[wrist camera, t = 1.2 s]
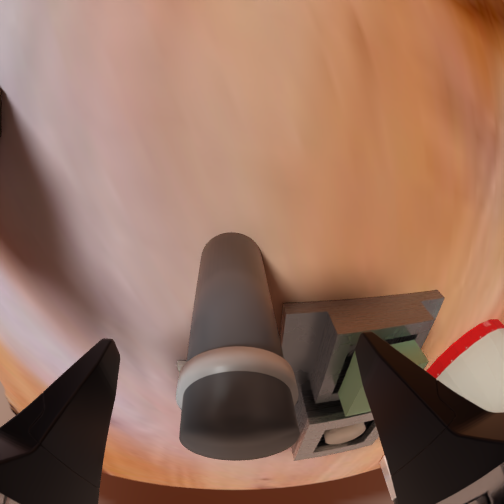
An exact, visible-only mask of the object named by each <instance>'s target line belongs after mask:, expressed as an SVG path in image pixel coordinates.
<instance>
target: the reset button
mask: <svg viewBox="0 0 504 504" xmlns="http://www.w3.org/2000/svg"><path fill="white" fill-rule="evenodd" d="M365 430H366V427H365V424H364V422H363V423H359V424H354V425H350V426H345V427H340V428H335V429H330V430H325V431H324V433H323V434H324V438H325V442H326V443H327V444H340V443H344V442H348V441H350V440H353V439H355V438H356V437H358V436H360V435H361V434H362V433H363V432H364V431H365Z"/></svg>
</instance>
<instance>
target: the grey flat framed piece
mask: <svg viewBox="0 0 504 504" xmlns="http://www.w3.org/2000/svg"><path fill="white" fill-rule="evenodd" d="M443 300H444V297H443V295H442V294H441V293H440V292H439V291H438V290H435V291H427V292H419V293H410V294H401V295H391V296H381V297H371V298H359V299H347V300H334V301H319V302H303V303H284V304H283V309H282V319H281V328H280V342H281V347H282V351H283V356H284V359H285V360H286V361H287V362H288V363H289V364H290V366H291V367H292V369H293V372H294V375H295V380H296V384H297V388H298V394H299V395H298V400H297V403H296V404H295V406H294V407H295V412H296V417H297V422H298V426H299V431H300V436H299V438H298V440H297V441H296V443H295V444H293V445H292V446H291V447H292V453H293V458H294V461H295V460H302V459H309V458H315V457H321V456H326V455H331V454H336V453H341V452H345V451H349V450H353V449H357V448H361V447H365V446H369V445H372V444H373V443H374V442H375V440H376V439H377V438H378V437H379V434H378V431H377V428H376V425H375V422H374V418H373V415H372V412H371V411H369V412H365V413H361V414H356V415H352V416H347V417H345V414H344V411H343V408H342V405H341V402H340V399H339V396H338V391H339V389H340V387H341V384H342V382H343V380H344V377H345V375H346V372H347V370H348V367H349V364H350V362H351V359H352V357H353V354H354V351H355V348H356V345H357V342H358V339H359V336H360V334H361V333H362V332H369V331H371V332H373V333H374V334H376V335H377V336H379V337H380V338H381V339H383V340H384V341H385V342H387V343H388V344H390V345H391V344H396V343H401V342H406V341H411V340H415V341H416V343H417V344H418V346H419V347H420V349H421V347H422V345H423V343H424V341H425V339H426V337H427V335H428V333H429V331H430V329H431V327H432V325H433V323H434V321H435V319H436V316H437V314H438V312H439V310H440V307H441V305H442V303H443ZM363 422H364V424H365V427H366V430H365V431H364V432H363V433H362V434H361V435H360V436H358V437H356V438H355V439H353V440H350V441H348V442H344V443H340V444H327V443H326V442H325V438H324V434H323V433H324V431H325V430H330V429H335V428H340V427H345V426H350V425H354V424H359V423H363Z"/></svg>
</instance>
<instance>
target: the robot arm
mask: <svg viewBox="0 0 504 504" xmlns="http://www.w3.org/2000/svg"><path fill="white" fill-rule="evenodd" d="M355 354H356V358H357V363H358V367H359V371H360V376H361V380H362V385H363V388H364V391H365V394H366V397H367V400H368V403H369V406H370V409H371V412H372V415H373V418H374V422H375V425H376V428H377V431H378V434H379V437H380V441H381V444H382V447H383V451H384V454H385V457H386V461H387V464H388V468H389V471H390V475H391V479H392V483H393V487H394V490H395V494H396V498H397V502H398V504H504V412H501V413H495V412H489V411H487V410H484V409H482V408H481V407H479V406H477V405H476V404H474V403H472V402H471V401H469V400H467V399H466V398H464V397H462V396H461V395H459V394H457V393H456V392H454V391H453V390H451V389H450V388H448V387H447V386H446V385H444V384H443V383H441V382H440V381H439V380H437V379H436V378H435V377H433V376H432V375H430V374H429V373H428V372H426V371H425V370H424V369H422V368H421V367H420V366H418V365H417V364H415V363H414V362H413V361H411V360H410V359H409V358H407V357H406V356H405V355H403V354H402V353H400V352H399V351H398V350H396V349H395V348H394V347H392V346H391V345H390V344H388V343H387V342H385V341H384V340H383V339H381V338H380V337H379V336H377V335H376V334H374V333H373V332H371V331H369V332H362V333H361V334H360V336H359V339H358V342H357V345H356V348H355ZM119 364H120V354H119V352H118V349H117V347H116V344H115V342H114V340H113V339H105V338H104V339H102V340H100V341H99V342H98V343H97V344H96V345H95V346H93V347H92V348H91V349H90V350H89V351H88V352H87V353H86V354H84V355H83V356H82V357H81V358H80V359H79V360H78V361H77V362H76V363H74V364H73V365H72V366H71V367H70V368H69V369H68V370H67V371H66V372H64V373H63V374H62V375H61V376H60V377H59V378H58V379H57V380H56V381H55V382H54V383H52V384H51V385H50V386H49V387H48V388H47V389H46V390H45V391H44V392H43V393H42V394H40V395H39V396H38V397H37V398H36V399H35V400H34V401H33V402H32V403H31V404H30V405H28V406H27V407H26V408H25V409H23V410H22V411H21V412H20V413H19V414H17V415H16V416H15V417H13V418H12V419H11V420H9V421H8V422H7V423H6V424H4V425H3V426H2V427H0V504H98V498H99V488H100V480H101V472H102V465H103V459H104V452H105V446H106V441H107V435H108V430H109V425H110V420H111V415H112V410H113V405H114V401H115V396H116V389H117V380H118V372H119Z"/></svg>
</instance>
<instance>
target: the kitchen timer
mask: <svg viewBox="0 0 504 504" xmlns="http://www.w3.org/2000/svg"><path fill="white" fill-rule="evenodd" d="M426 372H428V373H429V374H430V375H432V376H433V377H435V378H436V379H437V380H439V381H440V382H441V383H443V384H444V385H446V386H447V387H448V388H450V389H451V390H453V391H454V392H456V393H457V394H459V395H461V396H462V397H464V398H466V399H467V400H469V401H471V402H472V403H474V404H476V405H477V406H479V407H481V408H482V409H484V410H487V411H489V412H495V413H501V412H504V325H503V324H502V323H501V322H500V321H499V320H498V319H493V320H488V321H486V322H483V323H481V324H479V325H477V326H476V327H474V328H473V329H471V330H470V331H468V332H467V333H465V334H464V335H463V336H462V337H461V338H459V339H458V340H457V341H456V342H454V343H453V344H452V345H451V346H450V347H449V348H448V349H447V350H446V351H445V352H444V353H443V354H442V355H441V356H440V357H438V358H437V360H436V361H435V362H434V363H433V364H432V365H431V367H430V368H429V369H428V370H427V371H426Z"/></svg>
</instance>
